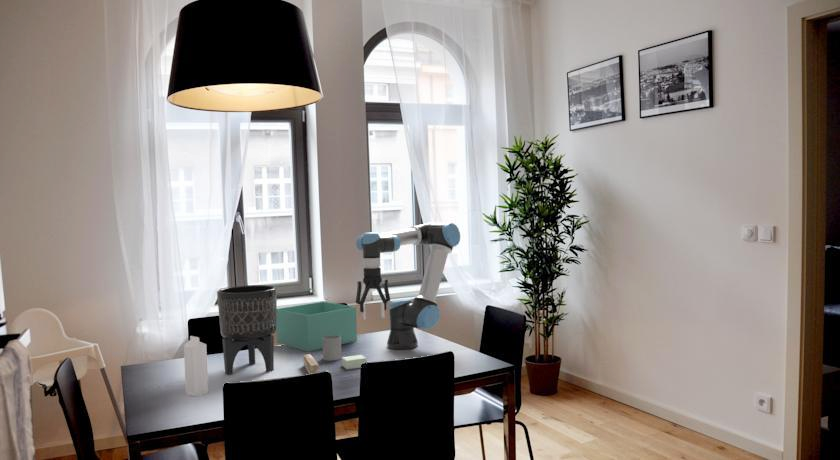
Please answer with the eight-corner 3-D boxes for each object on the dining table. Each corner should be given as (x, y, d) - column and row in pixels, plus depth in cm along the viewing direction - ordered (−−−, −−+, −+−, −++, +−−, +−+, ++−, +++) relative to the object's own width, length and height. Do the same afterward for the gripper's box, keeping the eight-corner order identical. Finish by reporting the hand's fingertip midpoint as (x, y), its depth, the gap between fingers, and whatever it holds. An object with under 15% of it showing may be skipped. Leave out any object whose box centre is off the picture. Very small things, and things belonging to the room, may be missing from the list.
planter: (290, 363, 277) (287, 285, 275) (258, 379, 253) (255, 293, 251) (243, 360, 285) (240, 284, 283) (208, 375, 261) (204, 292, 260)
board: (310, 365, 273) (310, 354, 273) (318, 376, 254) (318, 364, 254) (303, 366, 272) (303, 354, 272) (311, 377, 253) (311, 365, 253)
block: (361, 363, 275) (361, 354, 274) (366, 367, 268) (366, 358, 268) (342, 366, 271) (341, 357, 271) (346, 369, 265) (346, 360, 264)
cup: (337, 360, 279) (337, 339, 279) (320, 360, 281) (319, 338, 281) (343, 356, 288) (343, 335, 287) (327, 355, 289) (326, 334, 289)
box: (324, 333, 341) (323, 301, 340) (357, 341, 319) (356, 307, 319) (276, 342, 321) (275, 308, 320) (308, 351, 299) (307, 315, 298)
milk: (199, 390, 240) (197, 334, 239) (208, 392, 237) (206, 335, 236) (185, 394, 235) (183, 337, 235) (194, 396, 232) (192, 338, 231)
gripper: (391, 265, 278) (393, 314, 279) (347, 268, 271) (348, 319, 272) (396, 266, 271) (398, 317, 272) (351, 269, 264) (352, 322, 265)
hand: (373, 318), depth 272 cm, fingers open, 8 cm apart
